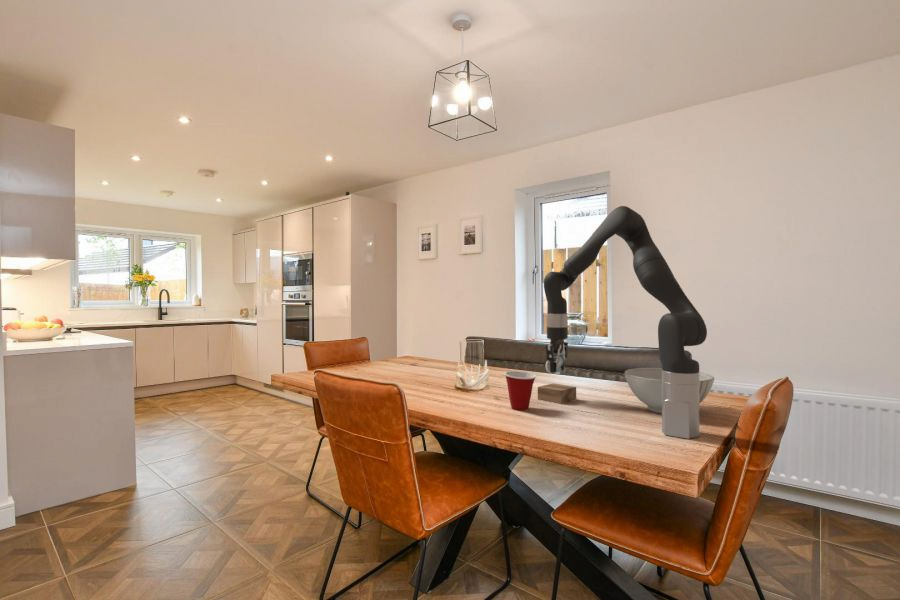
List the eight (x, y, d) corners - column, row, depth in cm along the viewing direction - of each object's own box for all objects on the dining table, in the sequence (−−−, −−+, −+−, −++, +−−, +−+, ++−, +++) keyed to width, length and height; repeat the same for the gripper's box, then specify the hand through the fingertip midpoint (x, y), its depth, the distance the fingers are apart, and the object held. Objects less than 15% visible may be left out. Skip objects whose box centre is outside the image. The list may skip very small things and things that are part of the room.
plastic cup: (528, 414, 146) (528, 377, 146) (498, 409, 152) (498, 374, 152) (541, 407, 155) (541, 372, 155) (513, 403, 161) (513, 369, 161)
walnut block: (561, 404, 159) (560, 390, 159) (537, 400, 167) (537, 386, 167) (576, 400, 166) (576, 387, 166) (553, 396, 174) (553, 383, 174)
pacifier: (543, 373, 167) (559, 377, 166) (544, 366, 162) (561, 370, 160) (547, 355, 171) (563, 359, 169) (549, 348, 165) (565, 352, 164)
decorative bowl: (707, 426, 132) (707, 384, 132) (614, 412, 148) (614, 375, 148) (719, 408, 153) (719, 372, 153) (636, 397, 169) (636, 365, 169)
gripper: (558, 327, 158) (558, 375, 159) (574, 325, 170) (574, 369, 170) (538, 326, 163) (538, 372, 163) (556, 324, 174) (556, 368, 174)
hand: (557, 371), depth 166 cm, fingers closed on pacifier, 6 cm apart
